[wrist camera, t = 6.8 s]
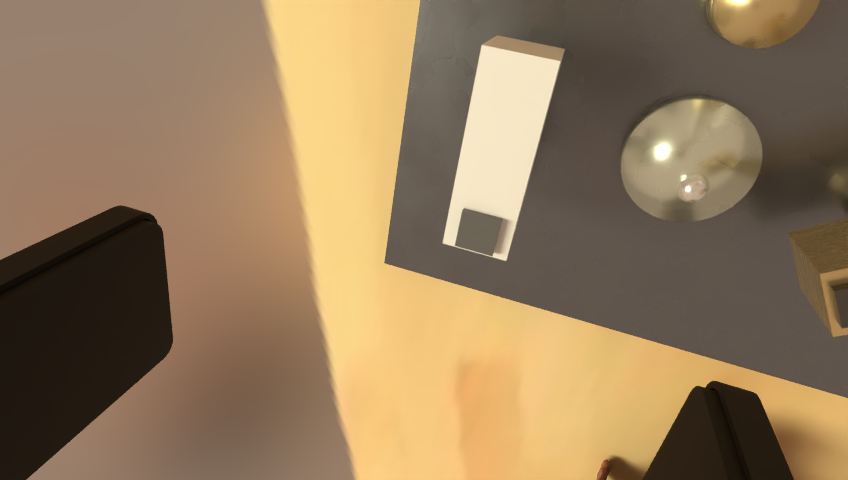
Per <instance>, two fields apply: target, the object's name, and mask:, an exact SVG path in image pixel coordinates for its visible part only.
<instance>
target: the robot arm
mask: <svg viewBox="0 0 848 480" xmlns="http://www.w3.org/2000/svg"><path fill="white" fill-rule="evenodd" d="M172 343H173V334H172V324H171V313H170V302H169V292H168V281H167V270H166V260H165V249H164V239H163V231H162V228H161V227H160V226H159V225H158V224H157V220H156V219H155V217H154V216H153V215H151V214H149V213H146V212H143V211H139V210H136V209H133V208H129V207H126V206H116V207H113V208H111V209H109V210H106V211H105V212H102V213H101V214H98V215H96V216H94V217H91V218H89V219H87V220H85V221H83V222H81V223H79V224H77V225H74V226H72V227H70V228H68V229H66V230H64V231H61V232H59V233H57V234H55V235H53V236H51V237H49V238H46V239H44V240H42V241H40V242H38V243H36V244H34V245H31V246H29V247H27V248H25V249H23V250H21V251H19V252H16V253H14V254H12V255H10V256H8V257H6V258H4V259H2V260H0V480H26V479H27V478H29V477H30V476H31V475H32V474H33V473H34V472H35V471H37V470H38V469H39V468H40V467H41V466H42V465H43V464H44V463H46V462H47V461H48V460H49V459H50V458H51V457H52V456H54V455H55V454H56V453H57V452H58V451H59V450H60V449H61V448H63V447H64V446H65V445H66V444H67V443H68V442H70V441H71V440H72V439H73V438H74V437H75V436H76V435H77V434H79V433H80V432H81V431H82V430H83V429H84V428H85V427H87V425H89V424H90V423H91V422H92V421H93V420H94V419H96V418H97V417H98V416H99V415H100V414H101V413H102V412H104V411H105V410H106V409H107V408H108V407H109V406H110V405H111V404H113V403H114V402H115V401H116V400H117V399H118V398H119V397H121V396H122V395H123V394H124V393H125V392H126V391H127V390H129V389H130V388H131V387H132V386H133V385H134V384H135V383H137V382H138V381H139V380H140V379H141V378H142V377H143V376H144V375H146V374H147V373H148V372H149V371H150V370H151V369H152V368H154V367H155V366H156V365H157V364H158V363H159V362H160V361H161V360H163V359H164V358H165V357H166V355H167V354H168V353H169V351H170V349H171V346H172ZM643 480H794V479H793V477H792V474H791V472H790V469H789V467H788V465H787V462H786V460H785V457H784V455H783V453H782V450H781V448H780V446H779V443H778V441H777V438H776V436H775V434H774V431H773V429H772V427H771V424H770V422H769V419H768V417H767V415H766V412H765V410H764V408H763V405H762V403H761V400H760V399H759V397H758V395H757V394H755V393H754V392H751V391H748V390H744V389H741V388H737V387H734V386H731V385H727V384H724V383H721V382H717V381H711V382H710V383H709V384H707V386H706V387H705V388H704V387H700V386H696V387H694V388H693V389H692V391H691V392H690V394H689V396H688V398H687V400H686V401H685V403H684V405H683V407H682V409H681V410H680V412H679V414H678V416H677V418H676V420H675V421H674V423H673V425H672V427H671V429H670V431H669V432H668V434H667V436H666V438H665V440H664V441H663V443H662V445H661V447H660V449H659V451H658V452H657V454H656V456H655V458H654V460H653V462H652V463H651V465H650V467H649V469H648V471H647V472H646V474H645V476H644V478H643Z"/></svg>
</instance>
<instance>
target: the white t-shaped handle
mask: <svg viewBox="0 0 848 480" xmlns="http://www.w3.org/2000/svg"><path fill="white" fill-rule="evenodd" d="M564 51H565V49H563V48H558V47H553V46H548V45H543V44H538V43H533V42H528V41H523V40H519V39H514V38H509V37H504V36H499V35H497V36H495V37H493V38H492V39H490V40H489V41H487V42H485V43H484V44H482V46H481V51H480V56H479V61H478V66H477V71H476V76H475V81H474V86H473V91H472V96H471V101H470V107H469V112H468V117H467V122H466V127H465V132H464V137H463V142H462V147H461V152H460V157H459V162H458V167H457V172H456V178H455V183H454V188H453V193H452V198H451V203H450V208H449V213H448V218H447V223H446V228H445V233H444V238H443V244H447V245H450V246H454V247H458V248H461V249H465V250H468V251H472V252H476V253H479V254H483V255H486V256H490V257H493V258H497V259H501V260H504V261H506V260H507V257H508V253H509V250H510V247H511V243H512V240H513V237H514V233H515V230H516V226H517V223H518V219H519V216H520V212H521V208H522V205H523V201H524V197H525V194H526V190H527V186H528V183H529V179H530V175H531V172H532V168H533V164H534V161H535V157H536V153H537V150H538V146H539V142H540V139H541V135H542V131H543V128H544V124H545V120H546V117H547V113H548V109H549V106H550V102H551V99H552V95H553V91H554V88H555V84H556V80H557V77H558V73H559V69H560V66H561V62H562V58H563V55H564Z"/></svg>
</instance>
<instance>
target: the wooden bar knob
mask: <svg viewBox="0 0 848 480" xmlns="http://www.w3.org/2000/svg"><path fill="white" fill-rule="evenodd" d="M788 235H789V240H790V244H791V248H792V253H793V257H794V262H795V266H796V271H797V275H798V279H799V284H800V288H801V290H802V291H803V293H804V294H805V296H806V297H807V299H808V300H809V302H810V303H811V305H812V306H813V308H814V309H815V311H816V312H817V314H818V315H819V317H820V318H821V320H822V321H823V323H824V324H825V326H826V327H827V329H828V330H829V332H830V333H831V335H832V336H833V337H836V336H842V335H848V218H847V219H843V220H839V221H834V222H830V223H826V224H822V225H817V226H813V227H809V228H805V229H800V230H796V231H792V232H788Z"/></svg>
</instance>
